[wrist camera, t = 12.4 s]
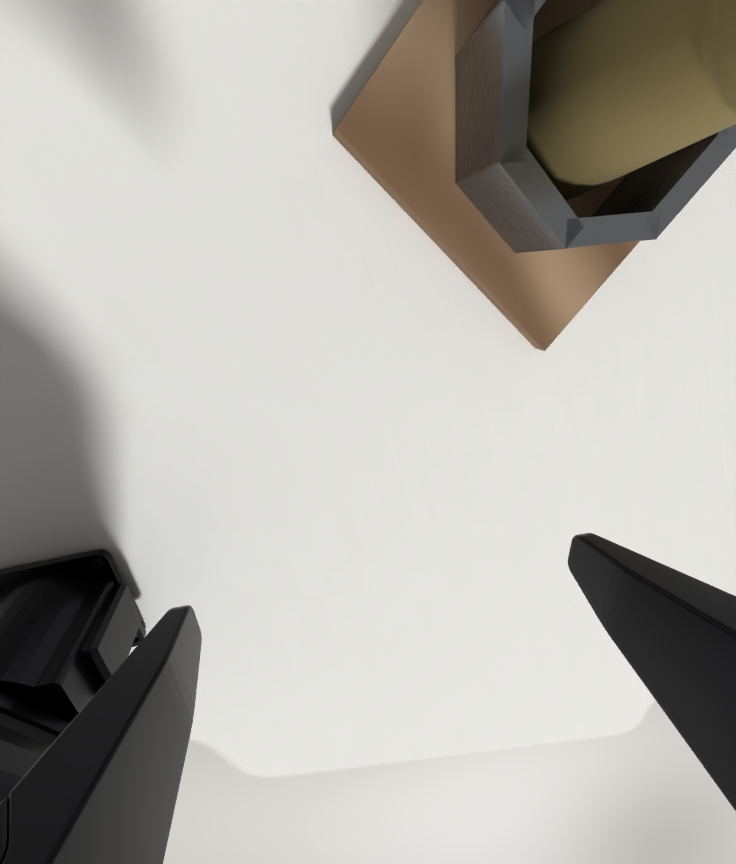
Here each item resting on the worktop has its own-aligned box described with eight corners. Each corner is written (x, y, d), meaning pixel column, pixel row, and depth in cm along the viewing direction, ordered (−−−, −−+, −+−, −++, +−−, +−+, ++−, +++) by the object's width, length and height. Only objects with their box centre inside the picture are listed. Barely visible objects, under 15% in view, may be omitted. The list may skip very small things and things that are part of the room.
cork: (469, 106, 16) (819, -188, 6) (588, -14, 15) (1217, -585, 5) (539, 234, 18) (865, 188, 8) (643, 136, 17) (1132, -44, 8)
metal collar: (549, 294, 19) (603, 299, 16) (405, 125, 15) (440, 87, 12) (703, 112, 18) (796, 78, 14) (587, -131, 14) (681, -252, 10)
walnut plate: (535, 348, 21) (544, 350, 20) (333, 135, 16) (335, 128, 15) (733, 117, 19) (752, 111, 18) (580, -231, 13) (598, -260, 12)
